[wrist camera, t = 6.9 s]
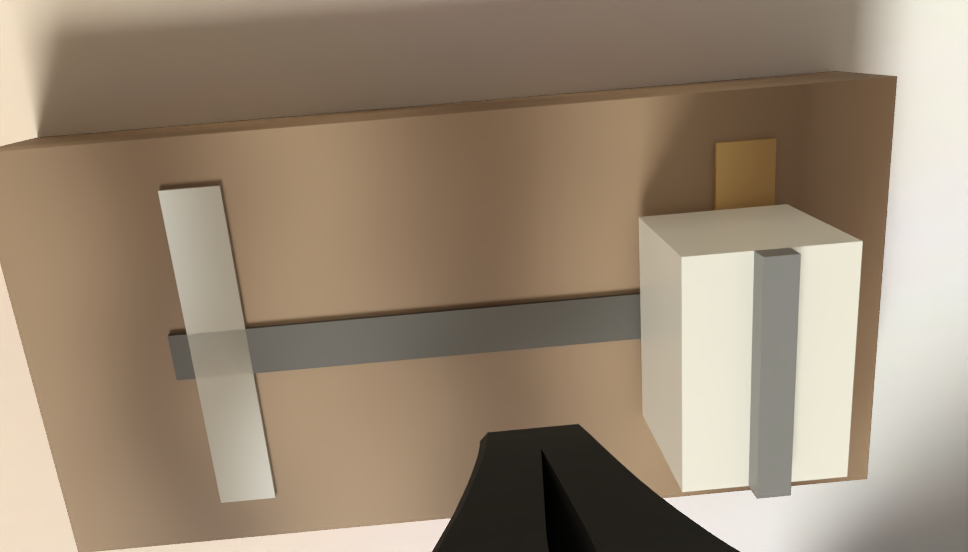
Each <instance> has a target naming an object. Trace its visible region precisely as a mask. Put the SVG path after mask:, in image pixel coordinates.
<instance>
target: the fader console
mask: <svg viewBox="0 0 968 552" xmlns="http://www.w3.org/2000/svg"><path fill="white" fill-rule="evenodd" d="M896 83H897V76H886V75H875V74H863V73H851V72H840V71H833V72H821V73H809V74H797V75H785V76H773V77H761V78H749V79H737V80H725V81H713V82H701V83H689V84H677V85H665V86H653V87H641V88H629V89H617V90H605V91H593V92H581V93H569V94H557V95H545V96H533V97H521V98H509V99H497V100H485V101H473V102H461V103H449V104H437V105H425V106H413V107H401V108H389V109H377V110H365V111H353V112H341V113H329V114H317V115H305V116H293V117H281V118H269V119H257V120H245V121H233V122H221V123H209V124H197V125H185V126H173V127H161V128H149V129H137V130H125V131H113V132H101V133H89V134H77V135H65V136H53V137H40V138H34V139H29V140H25V141H21V142H17V143H13V144H9V145H5V146H1V147H0V263H1V267H2V271H3V275H4V278H5V282H6V286H7V289H8V293H9V297H10V301H11V304H12V308H13V312H14V315H15V319H16V323H17V327H18V330H19V334H20V338H21V341H22V345H23V349H24V352H25V356H26V360H27V364H28V367H29V371H30V375H31V378H32V382H33V386H34V390H35V393H36V397H37V401H38V404H39V408H40V412H41V416H42V419H43V423H44V427H45V430H46V434H47V438H48V441H49V445H50V449H51V453H52V456H53V460H54V464H55V467H56V471H57V475H58V479H59V482H60V486H61V490H62V493H63V497H64V501H65V504H66V508H67V512H68V516H69V519H70V523H71V527H72V530H73V534H74V538H75V542H76V545H77V549H78V552H95V551H106V550H116V549H127V548H138V547H148V546H159V545H169V544H180V543H191V542H201V541H212V540H222V539H233V538H244V537H254V536H265V535H276V534H286V533H297V532H307V531H318V530H329V529H339V528H350V527H361V526H371V525H382V524H392V523H403V522H414V521H424V520H435V519H445V518H452V516H453V514H454V512H455V510H456V508H457V506H458V503H459V501H460V499H461V497H462V495H463V493H464V490H465V488H466V486H467V484H468V482H469V479H470V476H471V474H472V471H473V468H474V466H475V463H476V459H477V456H478V452H479V447H480V440H481V439H482V438H483V437H484V436H485V435H486V434H487V433H488V432H497V431H508V430H518V429H529V428H540V427H550V426H561V425H572V424H579V425H580V426H582V427H583V428H584V429H585V430H586V431H587V432H588V433H589V434H591V435H592V436H593V437H594V438H595V439H596V440H597V441H598V442H599V443H600V444H601V445H602V446H603V447H604V448H605V449H606V450H607V451H609V452H610V453H611V454H612V455H613V456H614V457H615V458H616V459H617V460H618V461H619V462H620V463H622V464H623V465H624V466H625V467H626V468H627V469H628V470H629V471H630V472H632V473H633V474H634V475H635V476H636V477H637V478H638V479H640V480H641V481H642V482H643V483H644V484H646V485H647V486H648V487H649V488H651V489H652V490H653V491H654V492H655V493H657V494H658V495H659V496H660V497H661V498H669V497H679V496H690V495H700V494H711V493H722V492H732V491H743V490H751V489H750V487H749V486H743V487H733V488H722V489H711V490H701V491H690V492H682V490H681V488H680V487H679V485H678V483H677V481H676V479H675V477H674V475H673V473H672V471H671V469H670V467H669V465H668V463H667V461H666V460H665V458H664V456H663V454H662V452H661V450H660V448H659V446H658V444H657V442H656V440H655V438H654V436H653V434H652V433H651V431H650V429H649V427H648V425H647V423H646V421H645V419H644V417H643V410H642V361H641V312H640V263H639V217H644V216H655V215H667V214H679V213H690V212H702V211H713V210H725V209H736V208H748V207H759V206H771V205H782V204H788V205H790V206H792V207H794V208H796V209H798V210H800V211H802V212H804V213H806V214H808V215H810V216H812V217H814V218H816V219H818V220H820V221H823V222H825V223H827V224H829V225H831V226H833V227H835V228H837V229H839V230H841V231H843V232H845V233H847V234H849V235H851V236H853V237H855V238H857V239H859V240H861V241H863V245H862V260H861V275H860V290H859V306H858V321H857V336H856V351H855V366H854V381H853V396H852V412H851V427H850V442H849V457H848V472H847V477H839V478H828V479H818V480H807V481H797V482H791V486H796V485H807V484H817V483H828V482H838V481H849V480H860V479H867V472H868V459H869V445H870V432H871V418H872V405H873V392H874V378H875V365H876V351H877V338H878V324H879V311H880V298H881V284H882V271H883V257H884V244H885V231H886V217H887V204H888V190H889V177H890V163H891V150H892V137H893V123H894V110H895V96H896Z"/></svg>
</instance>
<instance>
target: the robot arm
mask: <svg viewBox="0 0 968 552" xmlns="http://www.w3.org/2000/svg"><path fill="white" fill-rule="evenodd" d="M432 552H740V551H738V550H736V549H735V548H733V547H731V546H730V545H728V544H726V543H725V542H723V541H722V540H720V539H719V538H717V537H716V536H714V535H713V534H711V533H710V532H708V531H707V530H705V529H704V528H702V527H701V526H700V525H698V524H697V523H695V522H694V521H693V520H691V519H690V518H688V517H687V516H686V515H684V514H683V513H681V512H680V511H678V510H677V509H676V508H674V507H673V506H672V505H670V504H669V503H668V502H667V501H665V500H664V499H663V498H661V497H660V496H659V495H658V494H657V493H655V492H654V491H653V490H652V489H651V488H649V487H648V486H647V485H646V484H644V483H643V482H642V481H641V480H640V479H638V478H637V477H636V476H635V475H634V474H633V473H632V472H630V471H629V470H628V469H627V468H626V467H625V466H624V465H623V464H622V463H620V462H619V461H618V460H617V459H616V458H615V457H614V456H613V455H612V454H611V453H610V452H609V451H607V450H606V449H605V448H604V447H603V446H602V445H601V444H600V443H599V442H598V441H597V440H596V439H595V438H594V437H593V436H592V435H591V434H589V433H588V432H587V431H586V430H585V429H584V428H583V427H582V426H580V425H579V424H572V425H561V426H550V427H540V428H529V429H518V430H508V431H497V432H488V433H487V434H486V435H485V436H484V437H483V438H482V439H481V440H480V447H479V452H478V456H477V459H476V463H475V466H474V468H473V471H472V474H471V476H470V479H469V482H468V484H467V486H466V488H465V490H464V493H463V495H462V497H461V499H460V501H459V503H458V506H457V508H456V510H455V512H454V514H453V516H452V518H451V520H450V522H449V524H448V525H447V527H446V529H445V530H444V532H443V534H442V536H441V537H440V539H439V541H438V543H437V544H436V546H435V548H434V549H433V551H432Z"/></svg>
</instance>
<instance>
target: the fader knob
mask: <svg viewBox="0 0 968 552" xmlns="http://www.w3.org/2000/svg"><path fill="white" fill-rule="evenodd" d="M862 245H863V241H861V240H859V239H857V238H855V237H853V236H851V235H849V234H847V233H845V232H843V231H841V230H839V229H837V228H835V227H833V226H831V225H829V224H827V223H825V222H823V221H820V220H818V219H816V218H814V217H812V216H810V215H808V214H806V213H804V212H802V211H800V210H798V209H796V208H794V207H792V206H790V205H788V204H782V205H771V206H759V207H748V208H736V209H725V210H713V211H702V212H690V213H679V214H667V215H655V216H644V217H639V263H640V312H641V361H642V410H643V417H644V419H645V421H646V423H647V425H648V427H649V429H650V431H651V433H652V434H653V436H654V438H655V440H656V442H657V444H658V446H659V448H660V450H661V452H662V454H663V456H664V458H665V460H666V461H667V463H668V465H669V467H670V469H671V471H672V473H673V475H674V477H675V479H676V481H677V483H678V485H679V487H680V488H681V490H682V492H690V491H701V490H711V489H722V488H733V487H743V486H749V487H750V489H751V490H752V492H753V493H754V495H755V496H756V498H767V497H778V496H789V495H791V482H797V481H807V480H818V479H828V478H839V477H847V472H848V457H849V442H850V427H851V412H852V396H853V381H854V366H855V351H856V336H857V321H858V306H859V290H860V275H861V260H862Z"/></svg>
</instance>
